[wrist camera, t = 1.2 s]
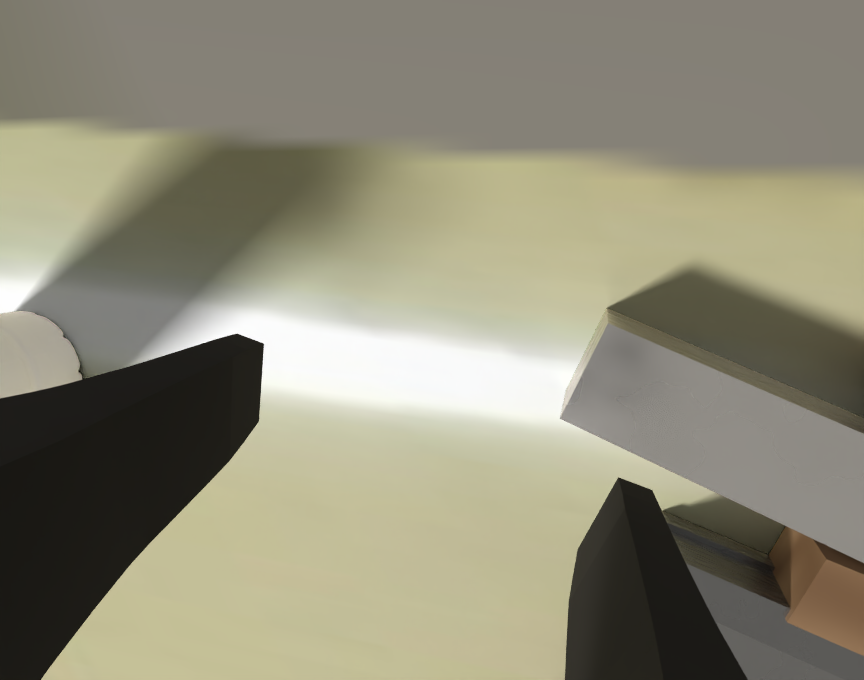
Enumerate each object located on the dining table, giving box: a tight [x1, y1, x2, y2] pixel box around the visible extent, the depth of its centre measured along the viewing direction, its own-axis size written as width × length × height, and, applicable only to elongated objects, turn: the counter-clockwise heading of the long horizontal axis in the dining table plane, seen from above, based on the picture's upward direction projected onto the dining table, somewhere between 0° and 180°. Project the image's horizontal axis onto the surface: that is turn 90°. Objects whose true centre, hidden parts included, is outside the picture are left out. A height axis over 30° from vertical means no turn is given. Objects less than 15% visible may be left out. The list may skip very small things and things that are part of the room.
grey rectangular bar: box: [560, 308, 864, 563], centre depth 18 cm, size 4×13×4 cm, turn 69°
